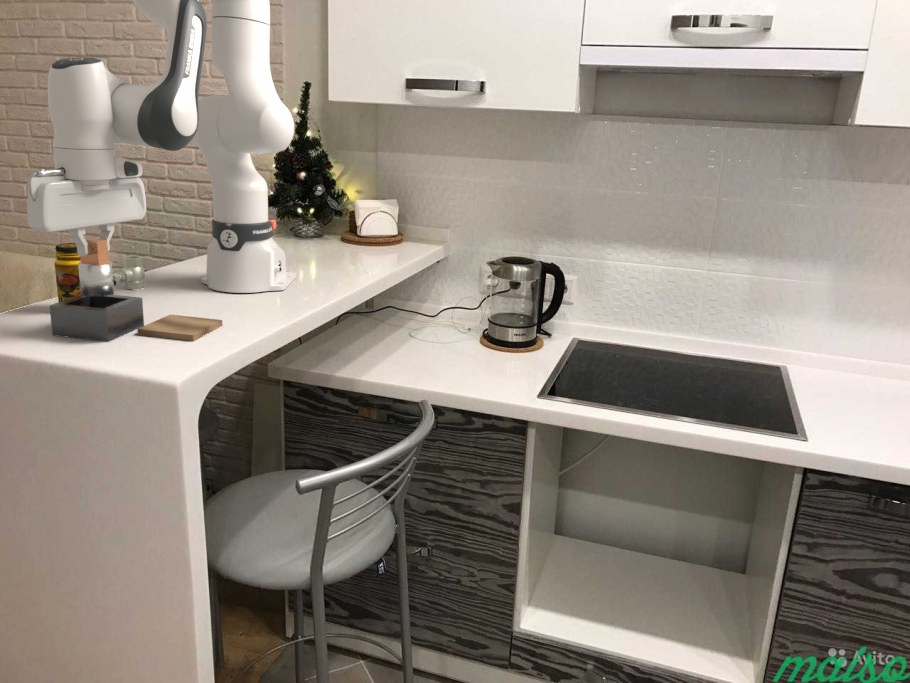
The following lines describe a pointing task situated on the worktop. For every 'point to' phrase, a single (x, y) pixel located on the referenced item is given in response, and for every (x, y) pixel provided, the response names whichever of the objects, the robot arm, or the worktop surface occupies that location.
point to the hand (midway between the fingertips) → (94, 253)
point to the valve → (130, 273)
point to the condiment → (67, 271)
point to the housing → (97, 317)
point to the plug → (96, 270)
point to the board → (180, 327)
